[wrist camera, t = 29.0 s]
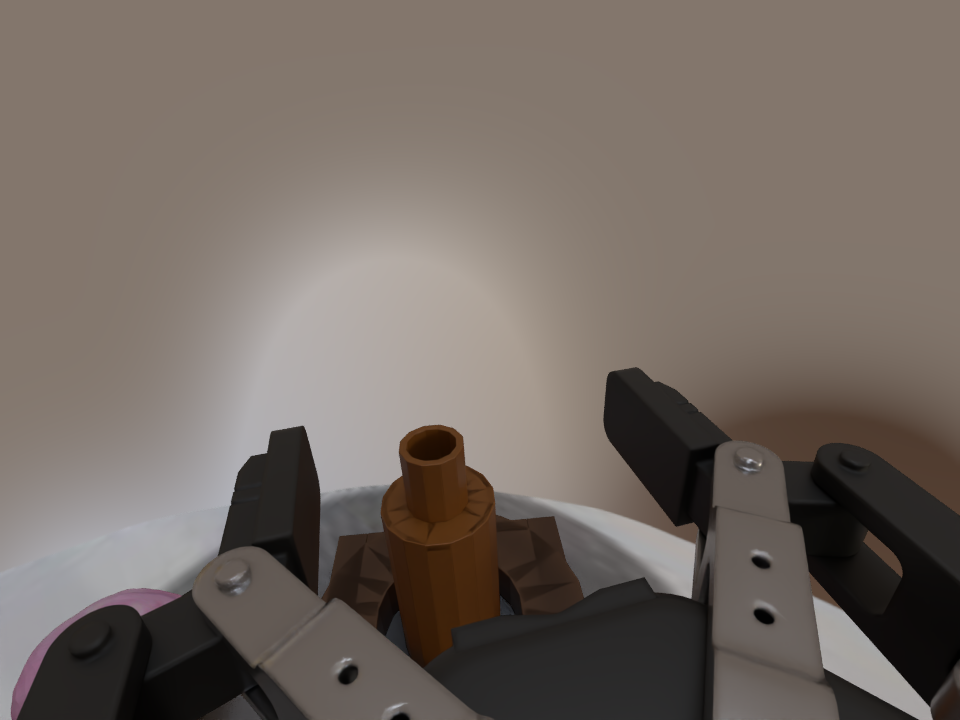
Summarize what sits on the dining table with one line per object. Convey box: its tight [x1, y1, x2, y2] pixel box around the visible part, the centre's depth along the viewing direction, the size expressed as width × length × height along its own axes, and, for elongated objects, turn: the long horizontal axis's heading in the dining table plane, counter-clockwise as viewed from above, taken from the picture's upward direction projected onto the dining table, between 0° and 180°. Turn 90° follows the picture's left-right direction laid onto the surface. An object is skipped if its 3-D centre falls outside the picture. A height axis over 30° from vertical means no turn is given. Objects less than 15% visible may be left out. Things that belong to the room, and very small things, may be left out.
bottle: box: [381, 425, 500, 668], centre depth 31 cm, size 6×6×17 cm
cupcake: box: [11, 588, 199, 720], centre depth 29 cm, size 9×9×10 cm
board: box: [321, 515, 584, 636], centre depth 35 cm, size 18×18×3 cm
